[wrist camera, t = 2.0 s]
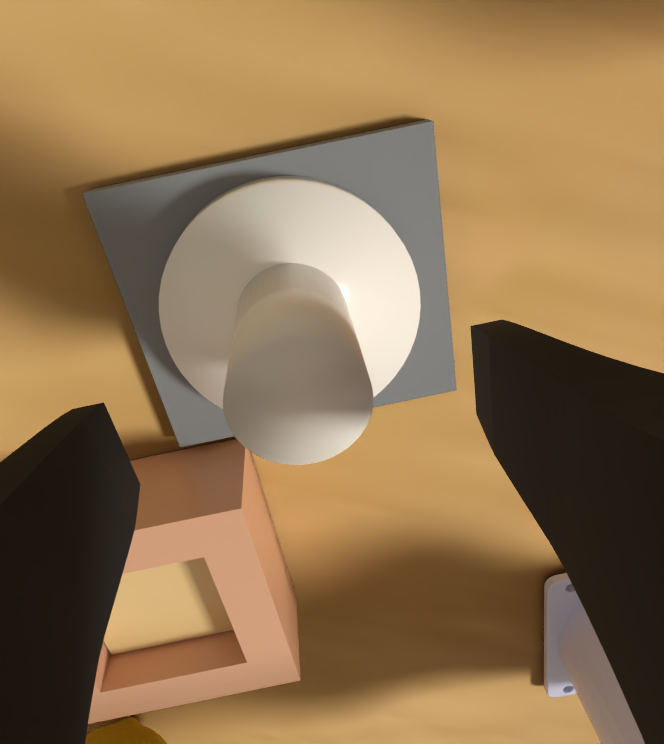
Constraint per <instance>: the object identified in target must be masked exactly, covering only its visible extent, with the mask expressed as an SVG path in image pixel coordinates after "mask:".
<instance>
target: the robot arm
mask: <svg viewBox="0 0 664 744" xmlns="http://www.w3.org/2000/svg"><path fill="white" fill-rule="evenodd" d="M471 339H472V354H473V368H474V383H475V398H476V413H477V416H478V419H479V421H480V423H481V426H482V428H483V430H484V433H485V435H486V437H487V439H488V442H489V444H490V446H491V448H492V450H493V452H494V454H495V456H496V458H497V459H498V461H499V463H500V464H501V466H502V468H503V469H504V471H505V472H506V474H507V476H508V477H509V479H510V480H511V482H512V484H513V485H514V487H515V488H516V490H517V491H518V493H519V495H520V496H521V498H522V499H523V501H524V502H525V504H526V506H527V507H528V509H529V510H530V512H531V513H532V515H533V517H534V518H535V520H536V521H537V523H538V524H539V526H540V528H541V529H542V531H543V532H544V534H545V536H546V537H547V539H548V540H549V542H550V544H551V545H552V547H553V549H554V551H555V552H556V554H557V556H558V557H559V559H560V561H561V563H562V565H563V567H564V569H565V571H566V573H563V574H558V575H554V576H551V577H550V578H548V579H547V581H546V582H545V585H544V688H545V690H546V693H547V695H548V696H550V697H561V696H566V695H571V694H576V693H577V695H578V697H579V699H580V701H581V703H582V705H583V707H584V709H585V711H586V713H587V715H588V717H589V719H590V721H591V723H592V725H593V727H594V729H595V731H596V733H597V735H598V738H599V740H600V742H601V744H664V373H660V372H656V371H652V370H649V369H645V368H641V367H638V366H634V365H631V364H628V363H625V362H622V361H618V360H615V359H612V358H609V357H605V356H603V355H600V354H597V353H594V352H591V351H588V350H585V349H582V348H580V347H577V346H574V345H571V344H569V343H566V342H563V341H561V340H558V339H556V338H553V337H550V336H548V335H545V334H543V333H540V332H537V331H535V330H532V329H529V328H527V327H524V326H521V325H519V324H516V323H512V322H509V321H505V320H498V321H493V322H488V323H484V324H479V325H474V326H471ZM139 493H140V482H139V480H138V478H137V476H136V473H135V471H134V469H133V467H132V464H131V462H130V460H129V458H128V455H127V453H126V451H125V449H124V447H123V444H122V442H121V440H120V438H119V435H118V433H117V431H116V429H115V427H114V424H113V422H112V420H111V418H110V415H109V413H108V411H107V409H106V407H105V404H104V403H100V404H95V405H90V406H85V407H80V408H76V409H72V410H70V411H69V412H67V413H65V414H64V415H62V416H61V417H59V418H58V419H56V420H55V421H53V422H52V423H51V424H49V425H48V426H47V427H45V428H44V429H43V430H41V431H40V432H39V433H37V434H36V435H35V436H33V437H32V438H31V439H30V440H28V441H27V442H26V443H24V444H23V445H22V446H21V447H19V448H18V449H17V450H16V451H14V452H13V453H12V454H10V455H9V456H8V457H7V458H5V459H4V460H3V461H2V462H0V744H85V741H86V734H87V727H88V720H89V713H90V708H91V702H92V696H93V690H94V685H95V679H96V673H97V667H98V662H99V657H100V653H101V649H102V645H103V640H104V636H105V633H106V629H107V626H108V622H109V619H110V615H111V612H112V608H113V605H114V602H115V598H116V595H117V591H118V588H119V584H120V581H121V577H122V574H123V570H124V567H125V563H126V560H127V556H128V553H129V549H130V545H131V542H132V538H133V534H134V530H135V525H136V518H137V511H138V502H139Z"/></svg>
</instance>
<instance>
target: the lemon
mask: <svg viewBox="0 0 664 744" xmlns="http://www.w3.org/2000/svg"><path fill="white" fill-rule="evenodd" d="M85 744H167V743H166V742H165V740H164V739H163V738H162V737H161V736H160V735H158V734H157V733H156V732H154V731H153V730H151V729H150V728H147V727H145V726H143V725H141V724H140V723H139V722H138V721H137V719H136V718H134V717H125V718H123V719H122V720H120V721H119V722H118V723H115V724H110V725H106V726H104V727H101V728H99V729H96V730H94V731H92V732H90V733H89V734H87V735H86V741H85Z"/></svg>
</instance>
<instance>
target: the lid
mask: <svg viewBox="0 0 664 744" xmlns="http://www.w3.org/2000/svg"><path fill="white" fill-rule="evenodd" d="M420 308H421V303H420V289H419V283H418V278H417V274H416V271H415V268H414V265H413V262H412V259H411V257H410V255H409V253H408V251H407V249H406V247H405V245H404V244H403V242H402V241H401V239H400V238H399V237H398V235H397V234H396V232H395V231H394V230H393V228H392V227H391V225H390V224H389V223H388V221H387V220H386V219H385V218H384V217H383V216H382V215H381V214H380V213H379V212H378V211H377V210H376V209H375V208H374V207H373V206H372V205H370V204H369V203H368V202H367V201H365V200H364V199H363V198H361V197H360V196H358V195H356V194H355V193H353V192H351V191H350V190H348V189H346V188H343V187H341V186H339V185H336V184H334V183H331V182H328V181H324V180H321V179H317V178H311V177H304V176H274V177H267V178H261V179H257V180H254V181H250V182H247V183H244V184H241V185H239V186H237V187H235V188H232V189H230V190H228V191H226V192H225V193H223V194H221V195H220V196H218V197H217V198H215V199H213V200H212V201H211V202H210V203H209V204H207V205H206V206H205V207H204V208H203V209H201V210H200V211H199V212H198V214H197V215H196V216H195V217H194V218H193V219H192V220H191V221H190V222H189V224H188V225H187V227H186V228H185V230H184V231H183V233H182V234H181V236H180V237H179V239H178V241H177V243H176V244H175V246H174V248H173V250H172V252H171V254H170V256H169V259H168V261H167V263H166V266H165V269H164V272H163V276H162V279H161V285H160V292H159V317H160V324H161V330H162V333H163V337H164V340H165V344H166V346H167V348H168V351H169V353H170V355H171V357H172V359H173V361H174V362H175V364H176V366H177V367H178V369H179V371H180V372H181V373H182V375H183V376H184V377H185V378H186V379H187V381H188V382H189V383H190V384H191V385H192V386H193V387H194V388H195V389H196V390H197V391H198V392H199V393H200V394H201V395H202V396H204V397H205V398H206V399H208V400H209V401H211V402H212V403H213V404H215V405H216V406H218V407H220V408H222V409H223V411H224V415H225V419H226V422H227V424H228V427H229V428H230V430H231V432H232V433H233V435H234V436H235V437H236V439H237V440H238V441H239V442H240V443H241V444H242V445H243V446H244V447H245V448H247V449H248V450H249V451H251V452H252V453H254V454H256V455H257V456H259V457H261V458H264V459H266V460H269V461H272V462H276V463H281V464H288V465H305V464H311V463H316V462H320V461H324V460H326V459H329V458H331V457H333V456H335V455H337V454H339V453H341V452H342V451H344V450H345V449H347V448H348V447H349V446H350V445H352V444H353V443H354V442H355V441H356V440H357V439H358V437H359V436H360V435H361V434H362V432H363V431H364V429H365V428H366V426H367V424H368V422H369V419H370V416H371V413H372V408H373V398H374V397H375V396H376V395H377V394H378V393H380V392H381V391H382V390H383V389H384V388H385V387H386V386H387V385H388V384H389V383H390V382H391V380H392V379H393V378H394V377H395V376H396V374H397V373H398V372H399V370H400V369H401V367H402V366H403V364H404V362H405V361H406V359H407V357H408V355H409V353H410V351H411V348H412V346H413V343H414V340H415V338H416V334H417V330H418V325H419V319H420Z"/></svg>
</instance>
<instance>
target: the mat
mask: <svg viewBox="0 0 664 744" xmlns="http://www.w3.org/2000/svg"><path fill="white" fill-rule="evenodd" d="M274 176H304V177H311V178H317V179H321V180H324V181H328V182H331V183H334V184H336V185H339V186H341V187H343V188H346V189H348V190H350V191H351V192H353V193H355V194H356V195H358V196H360V197H361V198H363V199H364V200H365V201H367V202H368V203H369V204H370V205H372V206H373V207H374V208H375V209H376V210H377V211H378V212H379V213H380V214H381V215H382V216H383V217H384V218H385V219H386V220H387V221H388V223H389V224H390V225H391V227H392V228H393V230H394V231H395V232H396V234H397V235H398V237H399V238H400V239H401V241H402V242H403V244H404V245H405V247H406V249H407V251H408V253H409V255H410V257H411V259H412V262H413V265H414V268H415V271H416V274H417V278H418V283H419V289H420V303H421V308H420V319H419V325H418V330H417V334H416V338H415V340H414V343H413V346H412V348H411V351H410V353H409V355H408V357H407V359H406V361H405V362H404V364H403V366H402V367H401V369H400V370H399V372H398V373H397V374H396V376H395V377H394V378H393V379H392V380H391V382H390V383H389V384H388V385H387V386H386V387H385V388H384V389H383V390H382V391H381V392H380V393H378V394H377V395H376V396H375V397H374V398H373V407H378V406H383V405H388V404H393V403H397V402H402V401H407V400H412V399H417V398H422V397H426V396H431V395H436V394H441V393H446V392H451V391H455V390H457V389H456V378H455V366H454V355H453V343H452V332H451V320H450V309H449V297H448V286H447V274H446V263H445V251H444V240H443V228H442V217H441V206H440V194H439V183H438V171H437V160H436V148H435V137H434V125H433V121H431V120H428V119H426V120H421V121H417V122H412V123H407V124H402V125H397V126H393V127H388V128H383V129H378V130H373V131H368V132H364V133H359V134H354V135H349V136H344V137H340V138H335V139H330V140H325V141H320V142H316V143H311V144H306V145H301V146H296V147H292V148H287V149H282V150H277V151H272V152H268V153H263V154H258V155H253V156H248V157H243V158H239V159H234V160H229V161H224V162H219V163H215V164H210V165H205V166H200V167H195V168H191V169H186V170H181V171H176V172H171V173H167V174H162V175H157V176H152V177H147V178H143V179H138V180H133V181H128V182H123V183H118V184H114V185H109V186H104V187H99V188H94V189H90V190H88V191H86V192H85V193H83V194H82V195H83V198H84V200H85V203H86V206H87V208H88V211H89V213H90V216H91V219H92V221H93V224H94V226H95V229H96V231H97V234H98V237H99V239H100V242H101V244H102V247H103V250H104V252H105V255H106V257H107V260H108V262H109V265H110V268H111V270H112V273H113V275H114V278H115V281H116V283H117V286H118V288H119V291H120V294H121V296H122V299H123V301H124V304H125V306H126V309H127V312H128V314H129V317H130V319H131V322H132V325H133V327H134V330H135V332H136V335H137V337H138V340H139V343H140V345H141V348H142V350H143V353H144V356H145V358H146V361H147V363H148V366H149V368H150V371H151V374H152V376H153V379H154V381H155V384H156V387H157V389H158V392H159V394H160V397H161V400H162V402H163V405H164V407H165V410H166V412H167V415H168V418H169V420H170V423H171V425H172V428H173V431H174V433H175V436H176V438H177V441H178V443H179V446H180V447H185V446H189V445H194V444H199V443H204V442H209V441H214V440H218V439H223V438H228V437H233V436H234V435H233V433H232V432H231V430H230V428H229V427H228V424H227V422H226V419H225V415H224V411H223V409H222V408H220V407H218V406H216V405H215V404H213V403H212V402H211V401H209V400H208V399H206V398H205V397H204V396H202V395H201V394H200V393H199V392H198V391H197V390H196V389H195V388H194V387H193V386H192V385H191V384H190V383H189V382H188V381H187V379H186V378H185V377H184V376H183V375H182V373H181V372H180V371H179V369H178V367H177V366H176V364H175V362H174V361H173V359H172V357H171V355H170V353H169V351H168V348H167V346H166V344H165V340H164V337H163V333H162V330H161V324H160V317H159V292H160V285H161V279H162V276H163V272H164V269H165V266H166V263H167V261H168V259H169V256H170V254H171V252H172V250H173V248H174V246H175V244H176V243H177V241H178V239H179V237H180V236H181V234H182V233H183V231H184V230H185V228H186V227H187V225H188V224H189V222H190V221H191V220H192V219H193V218H194V217H195V216H196V215H197V214H198V212H199V211H200V210H201V209H203V208H204V207H205V206H206V205H207V204H209V203H210V202H211V201H212V200H213V199H215V198H217V197H218V196H220V195H221V194H223V193H225V192H226V191H228V190H230V189H232V188H235V187H237V186H239V185H241V184H244V183H247V182H250V181H254V180H257V179H261V178H267V177H274Z"/></svg>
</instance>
